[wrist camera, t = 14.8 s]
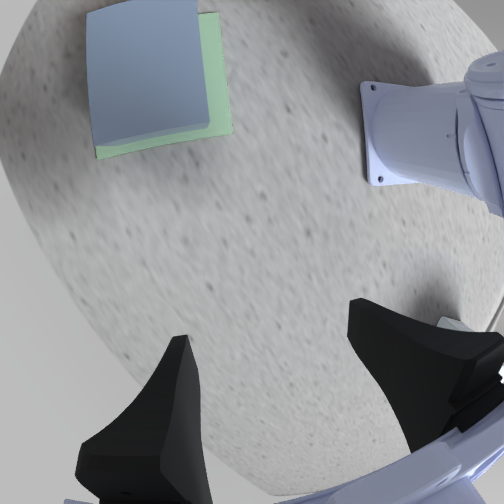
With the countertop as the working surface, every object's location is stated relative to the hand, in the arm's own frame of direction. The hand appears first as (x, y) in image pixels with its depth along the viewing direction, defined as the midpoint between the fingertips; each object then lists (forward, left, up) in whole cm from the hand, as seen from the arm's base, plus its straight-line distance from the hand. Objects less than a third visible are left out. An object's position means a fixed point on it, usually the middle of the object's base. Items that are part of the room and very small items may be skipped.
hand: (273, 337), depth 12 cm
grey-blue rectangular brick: (+4, -13, -9) cm, 17 cm away
